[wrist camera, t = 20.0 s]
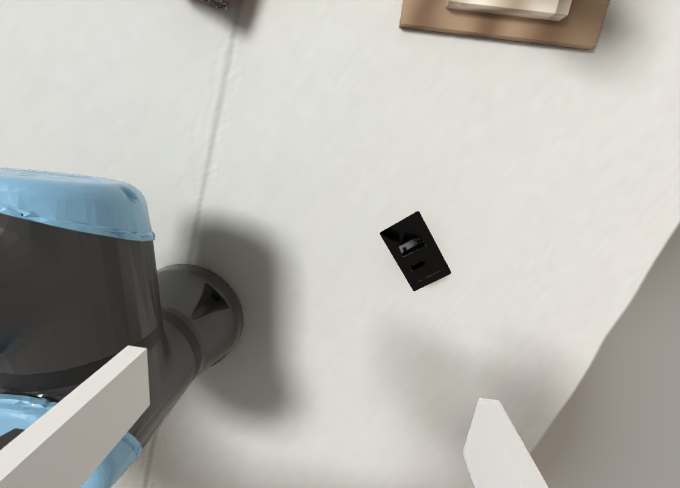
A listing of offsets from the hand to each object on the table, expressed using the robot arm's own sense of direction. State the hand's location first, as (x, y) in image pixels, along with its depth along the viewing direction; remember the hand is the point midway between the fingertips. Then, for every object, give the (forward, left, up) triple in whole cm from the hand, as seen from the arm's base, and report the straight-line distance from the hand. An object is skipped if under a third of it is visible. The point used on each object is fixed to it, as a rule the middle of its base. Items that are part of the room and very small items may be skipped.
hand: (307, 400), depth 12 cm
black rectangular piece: (+10, -2, -29) cm, 31 cm away
